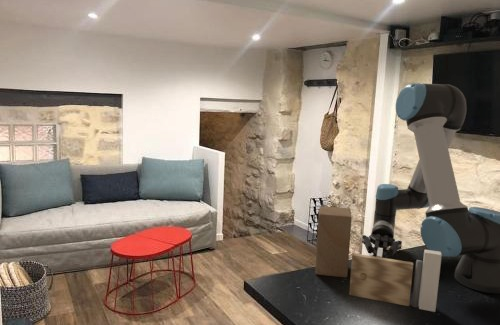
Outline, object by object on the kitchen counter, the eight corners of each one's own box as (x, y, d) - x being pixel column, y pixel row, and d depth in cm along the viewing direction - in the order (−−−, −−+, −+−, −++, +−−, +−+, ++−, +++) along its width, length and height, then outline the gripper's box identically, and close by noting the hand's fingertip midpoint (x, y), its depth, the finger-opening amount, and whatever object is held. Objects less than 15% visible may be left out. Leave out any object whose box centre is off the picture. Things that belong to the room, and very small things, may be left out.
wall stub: (434, 307, 108) (440, 251, 106) (435, 311, 106) (441, 255, 104) (411, 303, 110) (417, 248, 108) (411, 307, 108) (417, 251, 106)
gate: (409, 303, 110) (413, 262, 108) (409, 308, 108) (413, 266, 106) (349, 292, 116) (352, 253, 114) (348, 296, 113) (351, 256, 111)
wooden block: (347, 278, 125) (351, 216, 121) (315, 274, 127) (318, 214, 123) (346, 265, 134) (350, 208, 131) (316, 262, 136) (319, 205, 133)
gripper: (401, 247, 139) (400, 276, 117) (362, 241, 144) (355, 268, 122) (403, 227, 138) (403, 252, 116) (364, 221, 142) (357, 245, 120)
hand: (378, 260), depth 119 cm, fingers closed
